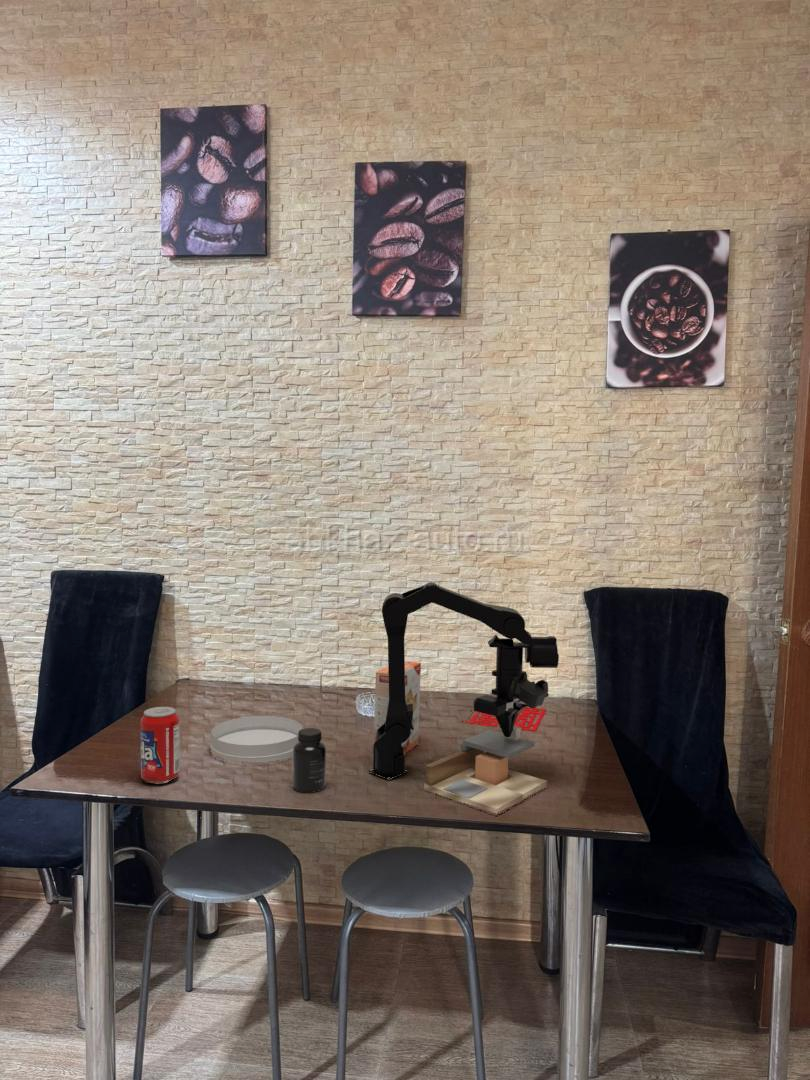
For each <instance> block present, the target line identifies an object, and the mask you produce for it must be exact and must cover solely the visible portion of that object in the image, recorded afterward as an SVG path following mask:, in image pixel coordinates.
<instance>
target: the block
mask: <svg viewBox="0 0 810 1080" xmlns="http://www.w3.org/2000/svg"><path fill="white" fill-rule="evenodd" d="M508 769H509V758H506V757H503V756H499V755H496V754H492V753H489V752H486V751H484V753H482V754H480V755H478V756H476V765H475V779H478V780H481V781H484V782H487V783H490V784H493V785H498V784H500V783H502V782H504V781H506V780H508Z"/></svg>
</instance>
